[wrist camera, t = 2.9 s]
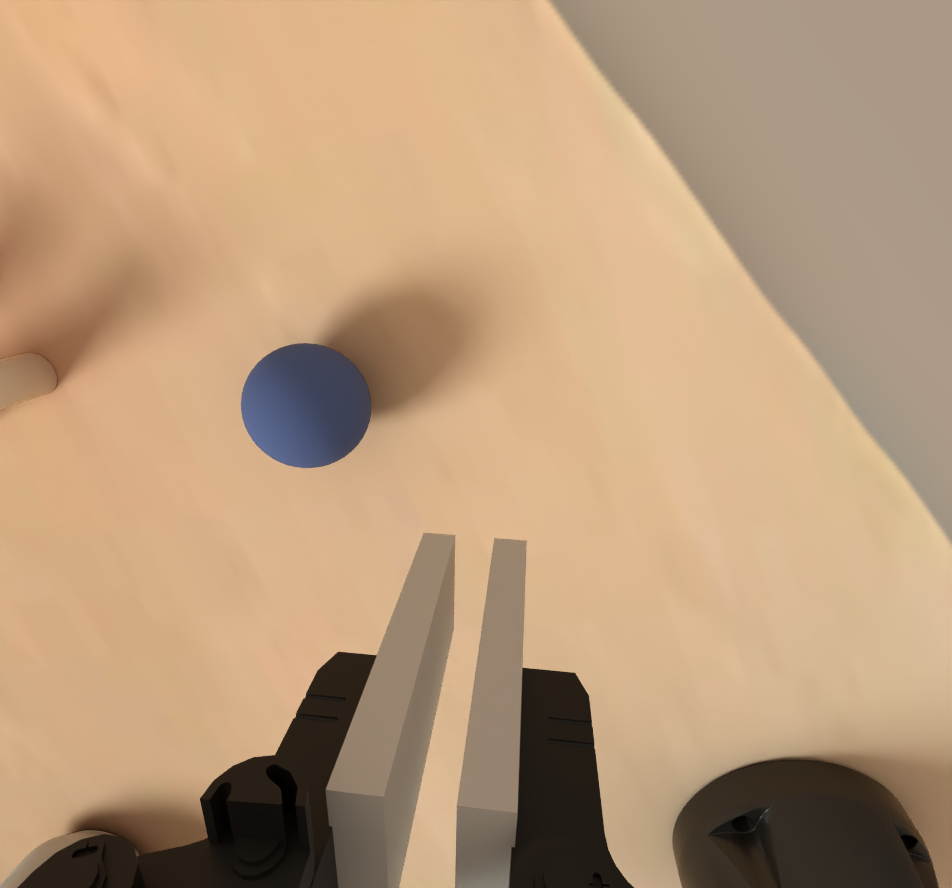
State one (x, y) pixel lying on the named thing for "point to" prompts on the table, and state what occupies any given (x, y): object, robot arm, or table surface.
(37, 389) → the pin
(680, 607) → the table surface
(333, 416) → the ball
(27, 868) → the teacup
